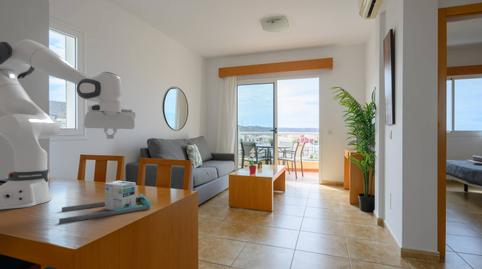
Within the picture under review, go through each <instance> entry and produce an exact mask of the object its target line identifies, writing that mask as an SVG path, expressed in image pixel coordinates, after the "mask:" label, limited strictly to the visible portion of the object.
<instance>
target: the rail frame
mask: <svg viewBox="0 0 482 269" xmlns="http://www.w3.org/2000/svg"><path fill="white" fill-rule="evenodd" d="M136 202H141V204H139V205H136V206H131V207H125V208H118V209H115V210H107V211H102V212H94V213H87V214H82V215H74V216H69V217H68V216H67V217H62V218H59V220H58V224H59V225H61V224H66V223H67V224H68V223H73V222H78V221H85V220H91V219H97V218H103V217H109V216H110V217H111V216H115V215H121V214H128V213H134V212H140V211H145V210H150V209H151V208H152V207H151V201H150V199H149V198H147V196H145V195H144V194H143V193H139V196H138V197H137V196H136ZM97 207H98V208H99V207H105V201H99V202H92V203H85V204H78V205H70V206H63V207H61V213H63V212H70V211H76V210H84V209H91V208H97Z"/></svg>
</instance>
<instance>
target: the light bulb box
mask: <svg viewBox="0 0 482 269" xmlns="http://www.w3.org/2000/svg"><path fill="white" fill-rule="evenodd" d="M136 185H137V184H136V182H133V181H124V180H115V181H109V182H105V183H104V202H105V206H104V209H105V210H108V211H112V210H115V209H118V208H125V207H131V206H137V201H136V197H137V193H136V192H137V191H136V190H137V188H136V187H137V186H136Z"/></svg>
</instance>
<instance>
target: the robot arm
mask: <svg viewBox="0 0 482 269" xmlns="http://www.w3.org/2000/svg"><path fill="white" fill-rule="evenodd" d="M35 70H36V71H37V72H40V73H42V74H44V75H47V76H49V77H52V78H56V79H60V80H64V81H66V82H67V81H68V82H70V83H73V84H75V85H76V92H77V95H78V96H79V97H80V98H82V99H84V100H86V101H90V102H94V103H96V104H92V105H88V106H87V112H86V113H85V116H84V122H83V127H84V128H85V129H103V133H105V135H106V139H108V140H110V139H111V140H114V139H115V135H116V133H118V130H134V129H135V127H136V124H135V119H136V112H135V111H134V110H132V109H125V108H122V105H123V104H122V103H123V102H122V95H123V94H122V93H123V88H122V87H123V86H122V78H121V77H120V76H119V75H117V74H116V73H113V72H110V71H102V72H101V73H99V74H97V75H96V76H93V77H89V76H87V75H86V74H85V73H83V72H81V71H79V70H78V69H77V68H76V67H74V66H73V65H72V64H70V63H69V62H68V61H67V60H65V59H64V58H63V57H62V56H61V55H59V54H58V53H57V52H55V51H53V49H50V48H49V47H47V46H46V45H44V44H42V43H40V42H38V41H35V40H33V39H28V38H26V39H25V38H24V39H21V40H19V41H18V42H17V43H16V44H14V45H13V44H12V45H10V44H9V43H8V42H7V41H0V110H1V112H3V113H5V114H6V115H3V116H1V117H0V136H1V137H2V138H4V139H5V140H6V141H7V142H8V143H9V145H10V147H11V150H12V153H13V158H14V171H10V172H8V175H7V179H8V181H6V182H5V183H3V184H1V185H0V210H9V209H19V208H20V209H21V208H30V207H33V206H35V205H39V204H43V203H46V202H49V201H51V200H52V199H53V198H52V196H51V193H50V188H49V181H50V170H49V168H48V152H47V151H46V150H45V149H44V148H42V147H41V144H40V142H39V140H47V139H50V138H54V137H56V136H58V134H60V131H61V125H60V122H59V121H58V120H57V119H55V118H53V117H52V116H50V115H49V114H47V113H46V112H45V111H44V110H43V109H41V108H40V107H39V106H38V105H37V104H36V103H35V102H34V101H33V100H32V99H31V98H30V96H29V94H28V93H27V92H26V90H25V89H24V87H23V86H22V85H21V83H20V82H19V80H18V79H24V78H25V77H26V76H29V75H30V74H32V73H33V72H34V71H35ZM108 129H112V130H113V132H112V134H109V133H108Z"/></svg>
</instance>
